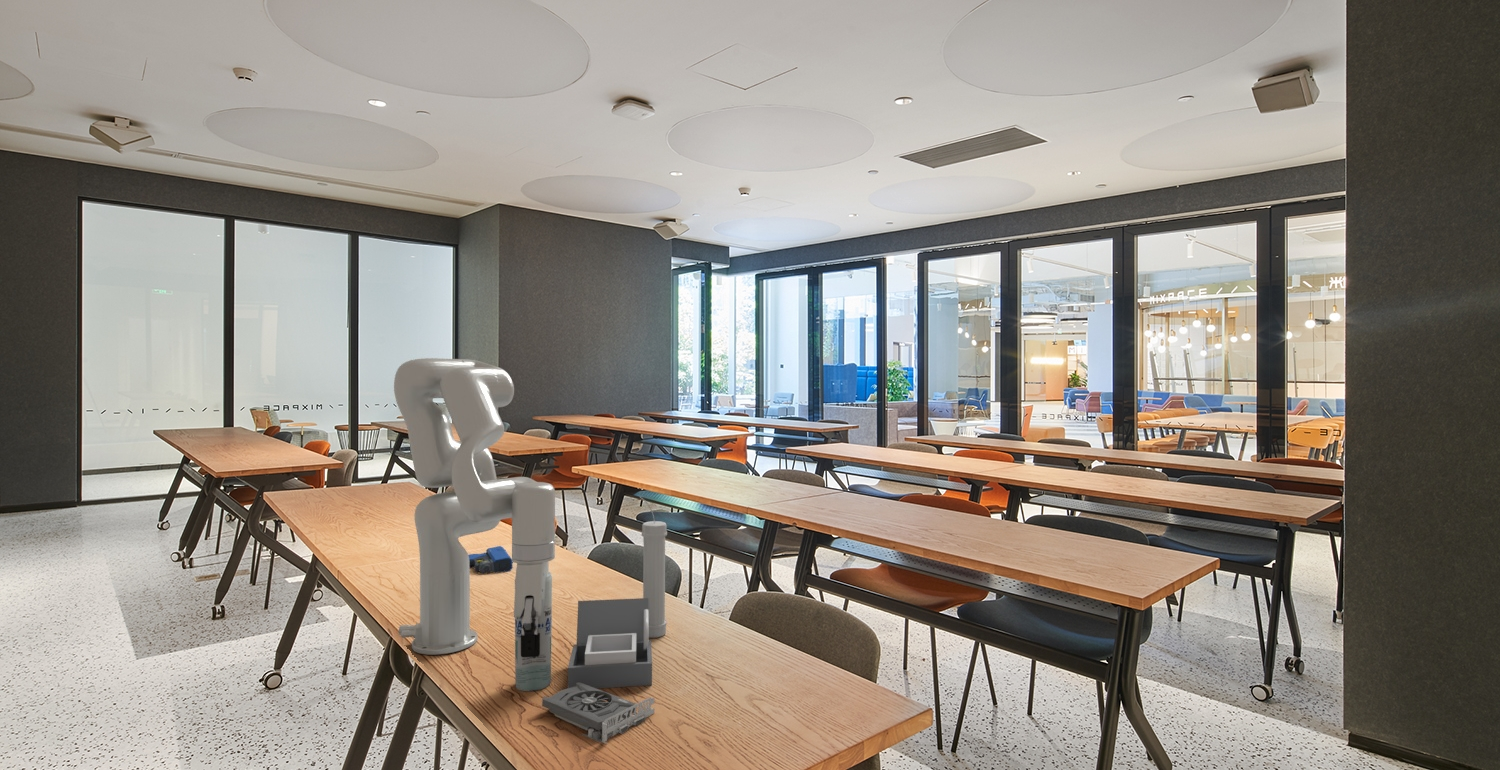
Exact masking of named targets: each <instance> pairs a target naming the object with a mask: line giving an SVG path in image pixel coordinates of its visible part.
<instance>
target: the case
mask: <svg viewBox="0 0 1500 770" xmlns="http://www.w3.org/2000/svg"><path fill="white" fill-rule="evenodd" d="M576 623H577V624H576V625H577V627H576V643H575V644H573V645H572V648H571V649H572V650H571V654H570V658H569V661H568V665H567V689H568V688H571V687H575V686H576V683H579V682H580V683H583V684H585V685H588V686H591V687H593V688H596V689H604V688H605V689H607V688H608V689H609V688H621V687H622V688H624V687H625V688H626V687H638V686H639V687H640V686H641V687H642V686H652V685H653V656H652V655H653V654H652V653H653V652H652V651H653V650H652V641H651V640H649V638H650V637H649V598H643V597H642V598H641V597H640V598H639V597H638V598H619V599H618V598H617V599H616V598H615V599H614V598H613V599H595V600H593V599H592V600H578V601H577V622H576Z"/></svg>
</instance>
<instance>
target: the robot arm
mask: <svg viewBox="0 0 1500 770" xmlns="http://www.w3.org/2000/svg"><path fill="white" fill-rule="evenodd" d="M395 372H396V373H395V375H394V382H393V391H394V397H395V402H396V404H397V406H398V410H399V412H400V414H401V416H402V419H403V420H404V423H405V426H406V429H407V434H408V440H409V446H410V452H411V453H410V454H411V457H412V463H413V469H414V473H415V478H416V480H417V482H418V483H419V485H420V486H422V487H425V488H428V489H431V488H432V489H434V488H435V489H436V488H445V487H446V488H447V487H453V491H447V492H439V493H435V494H431V495H429V496H426V497H425V498H423V499H421V500H420V501H419V503H418V504H417V505H416V507H415V510H414V523H415V525H414V526H415V529H416V534H417V539H418V548H419V549H418V550H419V622H417V623H416V624H412V625H411V624H400V625H399V627H398V634H399V635H400V637H401V638H402V639H403V638H413V640H411V649H412V650H413V652H415V653H417V654H420V655H428V656H429V655H432V656H433V655H434V656H435V655H447V654H451V653H456V652H460V651H463V650H465V649H467V648H470V647H472V646H473V645H474V644H475V643H476V642H477V641H478V632H477V631H475V630H474V629H471V628H470V626H471V625H470V623H471V622H470V621H471V620H470V617H471V616H470V614H471V612H470V611H471V609H470V605H471V604H470V603H471V602H470V593H471V592H470V591H471V590H470V586H471V585H470V584H471V583H470V582H471V581H470V575H471V573H470V568H471V567H470V566H469V556H468V555H469V553H468V552H467V551H468V550H467V549H466V548H465V547H464V546H463V544H461V542H460V540H459V538H461V537H465V536H469V535H473V534H480V533H484V532H488V531H491V530H493V529H495V528H496V527H497V526H499V524H500V523H501V520H506V519H511V559H512V562H513V563H515V564H516V569H515V578H514V600H513V602H514V603H513V604H514V607H513V618H514V620H515V619H518V618H520V617H521V615H522V612H523V616H522V632H521V657H537V656H539V654H540V633H538V627H539V618H540V617H541V616H542V615H543V611H544V603H545V584H546V577H547V575H548V572H550V568H549V566H550V565H549V564H550V563H549V562H551V561H553V560H555V558H556V489H555V487H554V486H553V484H551V483H549V482H544V481H536V480H534V479H533V478H530V477H527V476H515V477H508V478H499V479H498V478H497V472H496V468H495V463H494V459H493V455H492V452H491V450H490V449H489V448H491V447H492V446H494V445H495V444H496V443H497V442H499V440H501V439H502V437H503V435H504V433H505V425H504V423H503V421H502V418H501V416H500V414H499V411H498V410H497V409H498V408H503V407H506V406H508V405H509V404H510V403H511V402H512V401H513V398H514V395H515V385H514V381H513V380H512V377H511V376H510V374H509V373H508V372H507V371H506V370H505V369H504V368H502V367H498V366H495V365H494V364H489V363H487V362H483V361H479V360H477V359H465V358H438V357H437V358H436V357H435V358H433V357H431V358H429V357H427V358H425V357H424V358H416V359H414V358H413V359H410V360H407V361H405V362H404V363H401V365H399V367H398V368H397V370H396V371H395ZM433 399H443V402H444V403H445V406H446V408H447V411H448V415H449V416H448V415H447V413H445V411H444V410H443V409H442V408H441V407H440V406H439V405H438V404H437V403H435V402H434V401H433ZM449 417H450V418H451V421H450V419H449ZM451 422H452V423H453V426H454V429H455V431H456V434H457V437H458V439H459V440H456V439H455V438H454V434H453V428H452V424H451ZM533 603H534V604H533ZM532 612H536V616H532ZM532 620H535V625H534V623H532ZM534 626H535V627H534Z"/></svg>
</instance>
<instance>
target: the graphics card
mask: <svg viewBox="0 0 1500 770" xmlns="http://www.w3.org/2000/svg"><path fill="white" fill-rule="evenodd" d="M541 702H542V703H541V706H542V707H543V708H546V709H548V710H549V712H550V713H552V714H553V715H554V717H557V718H558V719H561V720H563V721H565V722H567V723H569V724H571V725H574V726H576V727H578V728H581V729H583V730H585V731H588V732H587V734H586V733H580V735H582V736H584V737H585V738H588V739H590V740H592V741H594V742H597V743H602V744H603V743H604V744H605V745H608V743H607V741H608V740H609V739H610V738H612V737H614V736H615V735H617V734H621V735H622V734H624V733H626V732H627V731H628V730H629V728H630V727H632V726H638V725H640V724H642V723H643V722H646V719H647V718H648V717H650V716H652V715H653V714H654V713H655V707H653V708H652V705H654V704H655V697H653V698H652V697H648V698H646V699H644V700H642V701H639V702H638V703H636V702H633V701H630V700H627V699H625V698H622V697H620V696H617V695H614V694H611V693H609V692H607V691H603V690H601V689H600V688H593V687H591V686H588V685H585V684H583V683H580V682H579V683H576V686H575V687H571V688H568V687H567V688H564V689H561V690H559V691H558V692H556V693H555V694H553V695H551V696H549V697H547V696H543V697H542V701H541ZM637 708H638V710H637Z"/></svg>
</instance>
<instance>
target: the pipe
mask: <svg viewBox="0 0 1500 770" xmlns="http://www.w3.org/2000/svg"><path fill="white" fill-rule="evenodd" d="M639 498H640V499H641V500H642V501H644V502H645V504H647V506H648V507H649V509H650V511H651V513H652V514H651V515H652V518H653V520H652V521H646V522H644V523H642V525H641V527H642V528H641V536H642V537H643V538H642V539H643V540H642V541H643V548H642V549H643V551H642V553H643V555H642V556H643V564H642V566H643V567H642V568H643V572H642V573H643V577H642V578H643V579H642V582H643V583H642V591H643V592H642V598H649V638H650V639H651V638H652V639H653V638H660V637H663V636H664V635H665V634H666V633H667V624H668V621H667V620H666V615H665V614H666V613H665V612H666V601H665V600H666V537H667V535H668V531H667V523H666V522H664V521H658V520H655V515H654V511H653V510H652V507H651V506H650V504H649V503H648V501H646V500H645V499H644V498H643V497H641V496H639Z"/></svg>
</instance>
